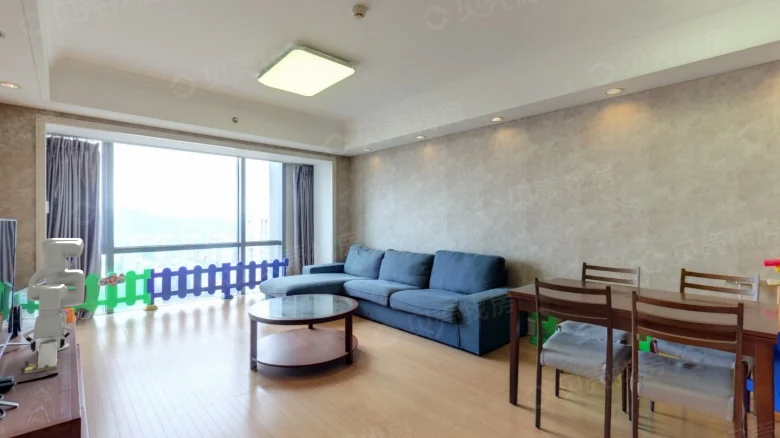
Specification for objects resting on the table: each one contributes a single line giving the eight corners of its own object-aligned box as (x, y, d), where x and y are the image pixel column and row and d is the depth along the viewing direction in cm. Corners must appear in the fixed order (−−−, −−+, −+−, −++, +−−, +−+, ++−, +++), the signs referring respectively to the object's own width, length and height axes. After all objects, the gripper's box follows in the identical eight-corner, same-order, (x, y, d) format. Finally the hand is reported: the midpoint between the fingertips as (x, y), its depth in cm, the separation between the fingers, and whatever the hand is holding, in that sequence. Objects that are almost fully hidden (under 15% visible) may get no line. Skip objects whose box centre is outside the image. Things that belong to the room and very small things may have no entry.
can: (45, 370, 169) (46, 344, 169) (34, 368, 171) (35, 343, 171) (60, 365, 176) (61, 340, 176) (49, 363, 177) (50, 338, 177)
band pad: (26, 368, 171) (26, 367, 171) (36, 366, 173) (36, 365, 173) (23, 372, 166) (23, 372, 166) (33, 371, 168) (33, 370, 168)
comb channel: (25, 367, 172) (25, 360, 172) (59, 362, 179) (59, 356, 179) (20, 374, 164) (20, 367, 164) (56, 368, 171) (56, 362, 171)
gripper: (74, 309, 181) (72, 343, 181) (25, 313, 171) (24, 350, 170) (72, 312, 175) (71, 347, 175) (22, 316, 165) (20, 354, 164)
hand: (47, 349), depth 173 cm, fingers open, 9 cm apart
